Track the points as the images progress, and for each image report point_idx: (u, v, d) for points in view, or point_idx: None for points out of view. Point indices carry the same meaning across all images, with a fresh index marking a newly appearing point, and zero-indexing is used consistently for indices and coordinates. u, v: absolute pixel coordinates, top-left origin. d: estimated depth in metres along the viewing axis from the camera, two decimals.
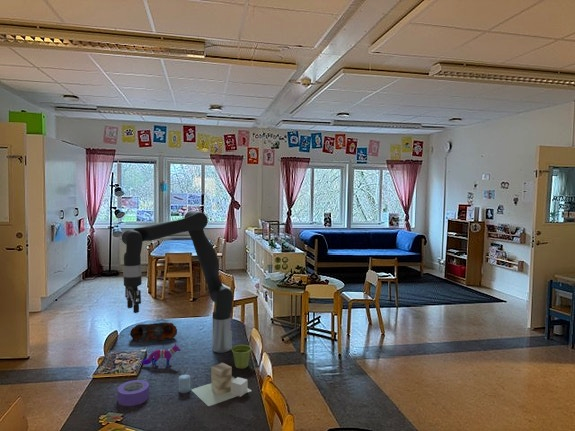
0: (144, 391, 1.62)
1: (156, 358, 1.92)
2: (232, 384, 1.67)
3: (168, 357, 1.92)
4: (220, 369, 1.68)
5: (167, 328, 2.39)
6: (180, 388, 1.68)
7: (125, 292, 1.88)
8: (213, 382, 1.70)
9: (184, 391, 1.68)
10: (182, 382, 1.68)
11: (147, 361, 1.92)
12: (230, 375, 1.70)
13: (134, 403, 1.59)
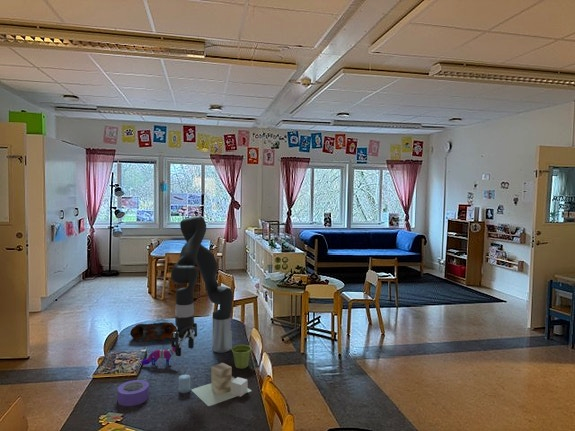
0: (144, 391, 1.62)
1: (156, 358, 1.92)
2: (232, 384, 1.67)
3: (168, 357, 1.92)
4: (220, 369, 1.68)
5: (167, 328, 2.39)
6: (180, 388, 1.68)
7: (176, 342, 1.62)
8: (213, 382, 1.70)
9: (184, 391, 1.68)
10: (182, 382, 1.68)
11: (147, 361, 1.92)
12: (230, 375, 1.70)
13: (134, 403, 1.59)
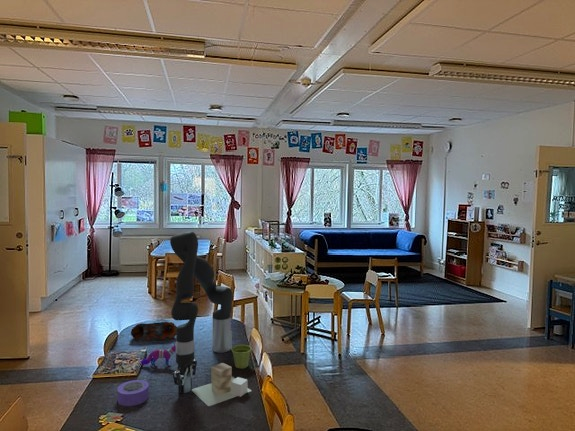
0: (144, 391, 1.62)
1: (155, 358, 1.92)
2: (232, 384, 1.67)
3: (167, 357, 1.92)
4: (220, 369, 1.68)
5: (168, 327, 2.40)
6: None
7: (179, 381, 1.64)
8: (213, 382, 1.70)
9: (184, 391, 1.68)
10: None
11: (146, 361, 1.92)
12: (230, 375, 1.70)
13: (134, 403, 1.59)
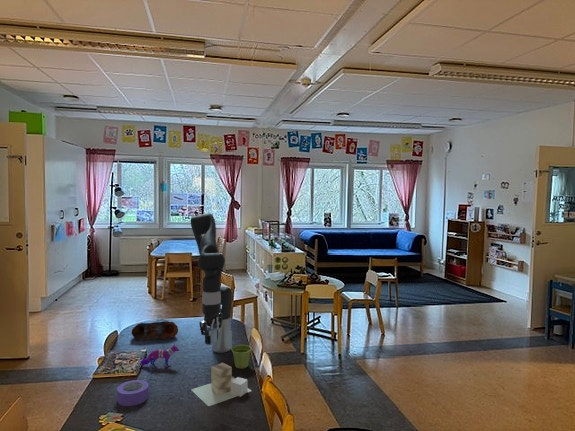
0: (144, 391, 1.62)
1: (155, 358, 1.92)
2: (232, 384, 1.67)
3: (167, 357, 1.92)
4: (220, 369, 1.68)
5: (168, 327, 2.40)
6: None
7: (205, 330, 1.63)
8: (213, 382, 1.70)
9: (211, 342, 1.67)
10: None
11: (146, 361, 1.92)
12: (230, 375, 1.70)
13: (134, 403, 1.59)
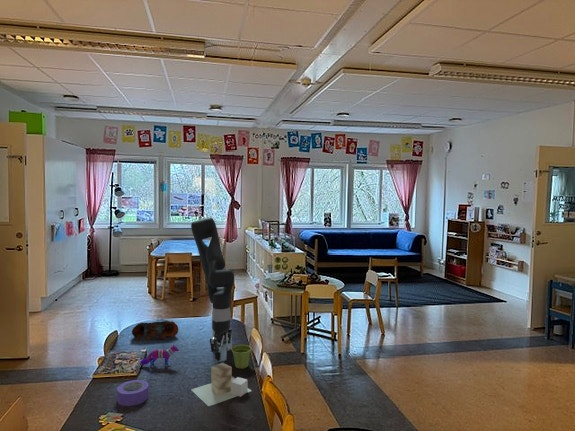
0: (144, 391, 1.62)
1: (154, 358, 1.92)
2: (232, 384, 1.67)
3: (166, 357, 1.92)
4: (220, 369, 1.68)
5: (168, 327, 2.41)
6: None
7: (216, 347, 1.64)
8: (213, 382, 1.70)
9: (220, 358, 1.68)
10: None
11: (145, 361, 1.92)
12: (230, 375, 1.70)
13: (134, 403, 1.59)
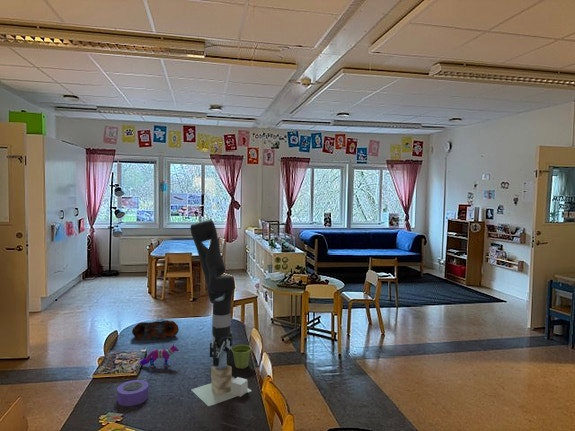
0: (144, 391, 1.62)
1: (154, 358, 1.92)
2: (232, 384, 1.67)
3: (166, 357, 1.92)
4: None
5: (168, 326, 2.42)
6: None
7: (215, 352, 1.63)
8: (213, 382, 1.70)
9: (221, 366, 1.68)
10: (219, 358, 1.68)
11: (145, 361, 1.92)
12: (230, 375, 1.70)
13: (134, 403, 1.59)
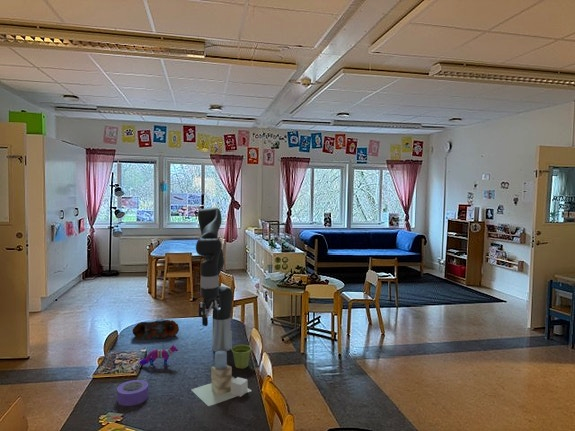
0: (143, 391, 1.62)
1: (154, 358, 1.92)
2: (232, 384, 1.67)
3: (166, 357, 1.92)
4: None
5: (168, 326, 2.42)
6: (217, 363, 1.68)
7: (204, 312, 1.68)
8: (213, 382, 1.70)
9: (221, 366, 1.68)
10: (219, 358, 1.67)
11: (145, 361, 1.92)
12: (230, 375, 1.70)
13: (133, 403, 1.59)
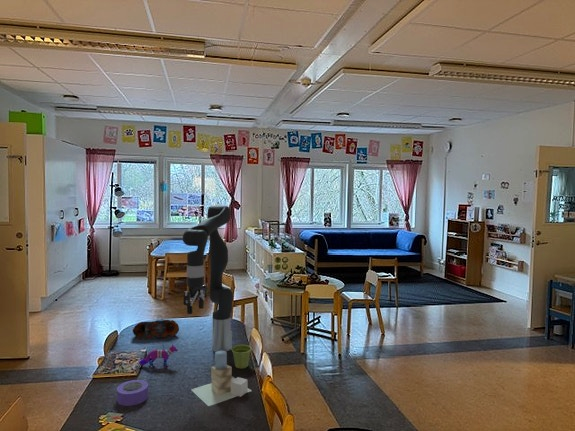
0: (143, 391, 1.62)
1: (153, 358, 1.92)
2: (232, 384, 1.67)
3: (165, 357, 1.92)
4: None
5: (169, 326, 2.43)
6: (217, 363, 1.68)
7: (188, 300, 1.74)
8: (213, 382, 1.70)
9: (221, 366, 1.68)
10: (219, 358, 1.67)
11: (144, 361, 1.92)
12: (230, 375, 1.70)
13: (133, 403, 1.59)
